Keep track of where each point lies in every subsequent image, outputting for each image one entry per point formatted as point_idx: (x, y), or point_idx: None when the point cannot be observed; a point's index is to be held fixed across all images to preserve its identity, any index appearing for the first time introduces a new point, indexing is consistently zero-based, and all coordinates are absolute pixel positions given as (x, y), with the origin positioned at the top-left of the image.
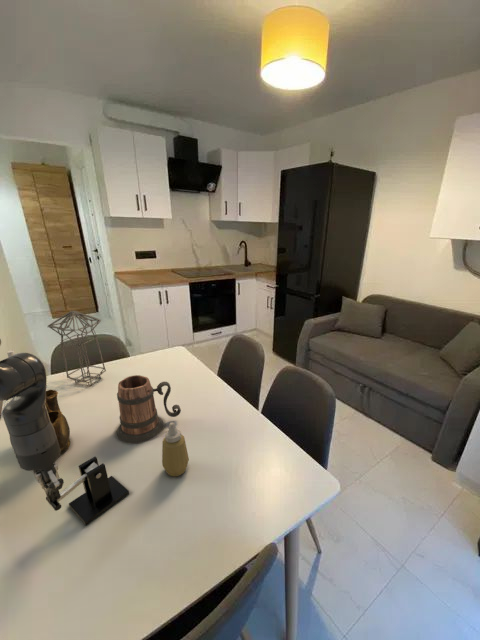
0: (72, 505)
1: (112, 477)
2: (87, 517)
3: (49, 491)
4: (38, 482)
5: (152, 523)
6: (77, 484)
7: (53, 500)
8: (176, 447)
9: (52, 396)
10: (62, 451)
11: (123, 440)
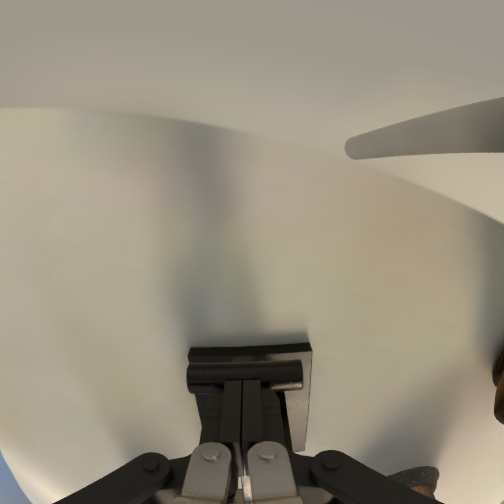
0: (292, 356)
1: (295, 450)
2: None
3: (103, 491)
4: (330, 457)
5: (89, 423)
6: None
7: (207, 402)
8: None
9: None
10: (497, 374)
11: (392, 477)
